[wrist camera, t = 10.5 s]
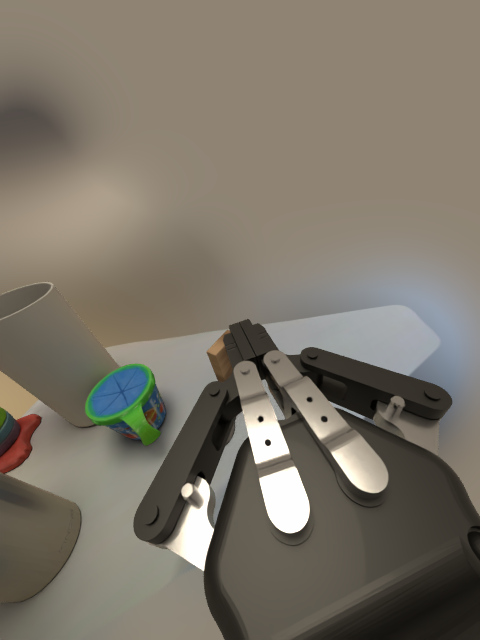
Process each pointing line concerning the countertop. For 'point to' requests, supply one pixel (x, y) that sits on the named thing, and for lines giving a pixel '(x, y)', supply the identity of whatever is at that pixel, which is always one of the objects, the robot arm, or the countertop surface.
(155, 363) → the countertop surface
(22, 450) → the stacking bear
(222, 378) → the lever
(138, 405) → the snack cup
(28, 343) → the cylinder vase
